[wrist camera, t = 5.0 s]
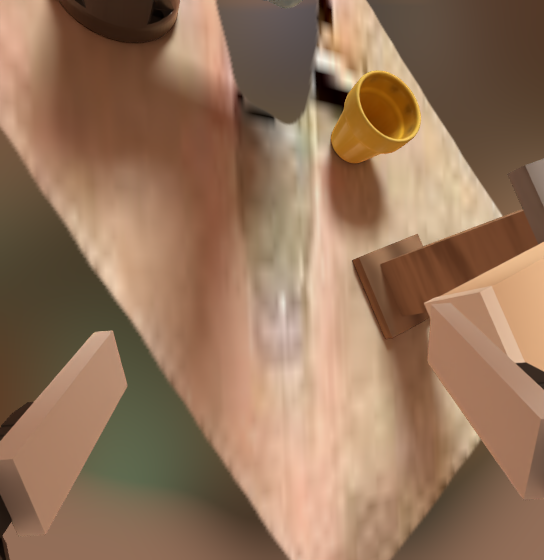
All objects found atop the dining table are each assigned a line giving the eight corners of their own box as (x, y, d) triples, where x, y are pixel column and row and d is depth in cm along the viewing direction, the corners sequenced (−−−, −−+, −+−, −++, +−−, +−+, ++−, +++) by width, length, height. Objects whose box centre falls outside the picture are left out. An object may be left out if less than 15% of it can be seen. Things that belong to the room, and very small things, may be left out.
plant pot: (310, 153, 55) (348, 113, 46) (329, 101, 59) (368, 54, 50) (367, 187, 58) (413, 156, 49) (382, 136, 62) (428, 97, 53)
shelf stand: (344, 369, 50) (618, 375, 23) (304, 271, 51) (525, 165, 24) (459, 305, 61) (741, 257, 33) (424, 224, 61) (674, 113, 34)
